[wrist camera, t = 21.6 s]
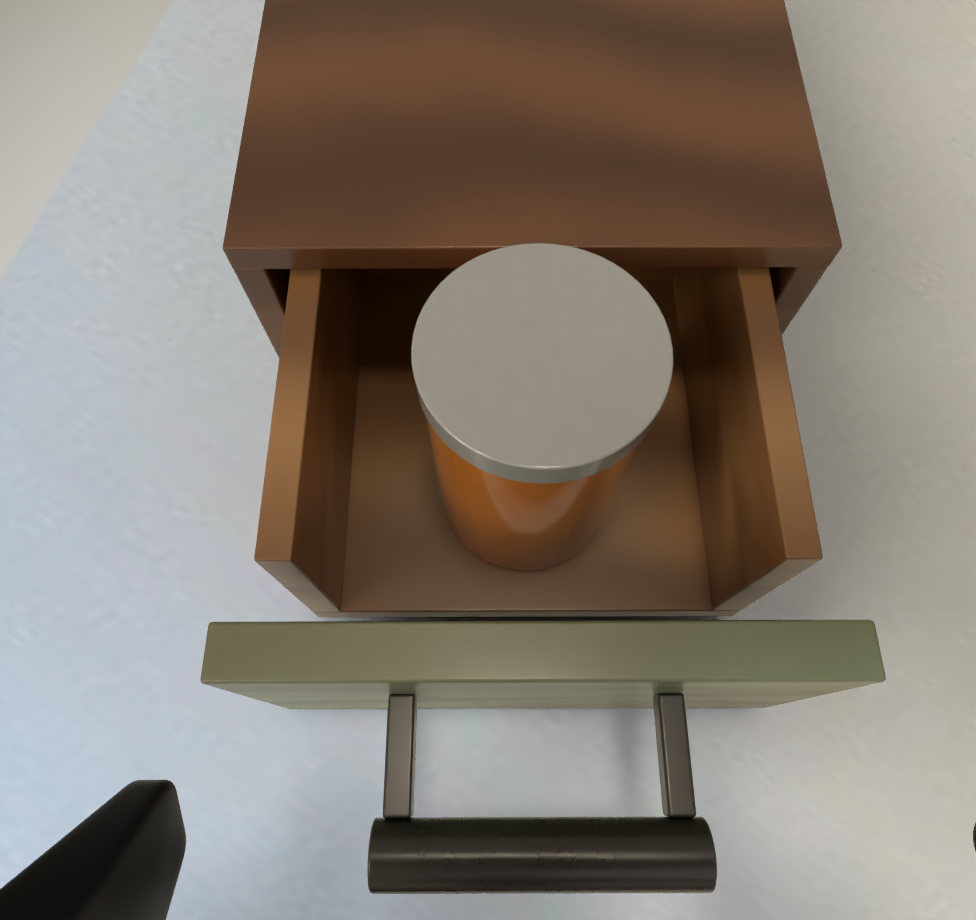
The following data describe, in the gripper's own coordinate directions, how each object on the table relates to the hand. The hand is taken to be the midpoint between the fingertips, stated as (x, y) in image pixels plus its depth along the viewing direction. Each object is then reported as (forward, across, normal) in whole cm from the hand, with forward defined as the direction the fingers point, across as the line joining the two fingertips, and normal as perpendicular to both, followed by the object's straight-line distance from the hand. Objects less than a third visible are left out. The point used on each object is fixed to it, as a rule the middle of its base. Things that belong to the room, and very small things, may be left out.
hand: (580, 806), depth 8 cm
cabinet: (+23, 0, -4) cm, 24 cm away
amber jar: (+14, 0, +2) cm, 14 cm away
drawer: (+14, 0, +4) cm, 15 cm away
